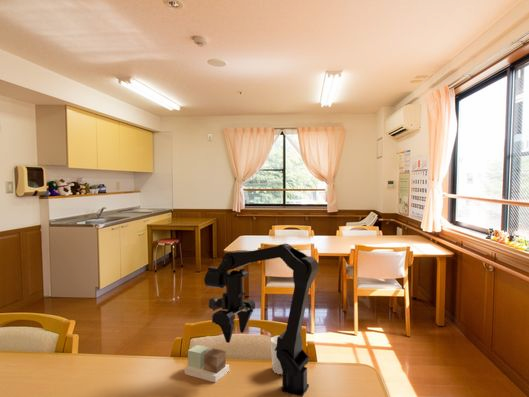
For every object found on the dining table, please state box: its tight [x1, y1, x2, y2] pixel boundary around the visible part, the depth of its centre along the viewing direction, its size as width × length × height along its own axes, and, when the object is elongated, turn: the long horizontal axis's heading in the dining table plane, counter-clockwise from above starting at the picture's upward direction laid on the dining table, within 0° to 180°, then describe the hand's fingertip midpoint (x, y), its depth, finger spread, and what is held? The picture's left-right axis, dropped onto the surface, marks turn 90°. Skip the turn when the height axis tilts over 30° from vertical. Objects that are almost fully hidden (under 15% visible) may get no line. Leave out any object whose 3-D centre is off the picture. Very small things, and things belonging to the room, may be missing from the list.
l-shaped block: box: [184, 344, 230, 384], centre depth 107 cm, size 12×8×7 cm, turn 64°
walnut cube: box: [204, 348, 227, 373], centre depth 106 cm, size 5×5×5 cm
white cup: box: [270, 334, 283, 376], centre depth 109 cm, size 8×8×10 cm
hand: (235, 337), depth 107 cm, fingers open, 9 cm apart
